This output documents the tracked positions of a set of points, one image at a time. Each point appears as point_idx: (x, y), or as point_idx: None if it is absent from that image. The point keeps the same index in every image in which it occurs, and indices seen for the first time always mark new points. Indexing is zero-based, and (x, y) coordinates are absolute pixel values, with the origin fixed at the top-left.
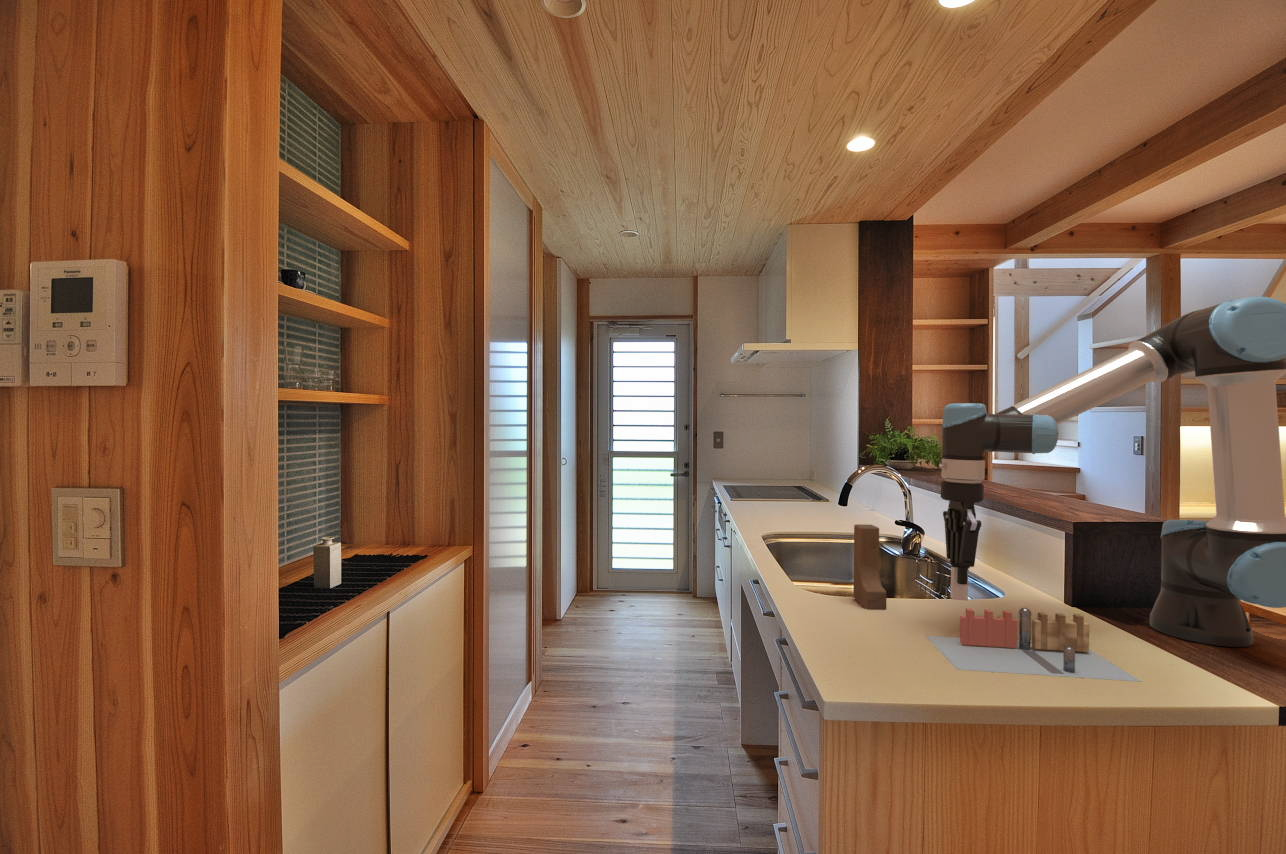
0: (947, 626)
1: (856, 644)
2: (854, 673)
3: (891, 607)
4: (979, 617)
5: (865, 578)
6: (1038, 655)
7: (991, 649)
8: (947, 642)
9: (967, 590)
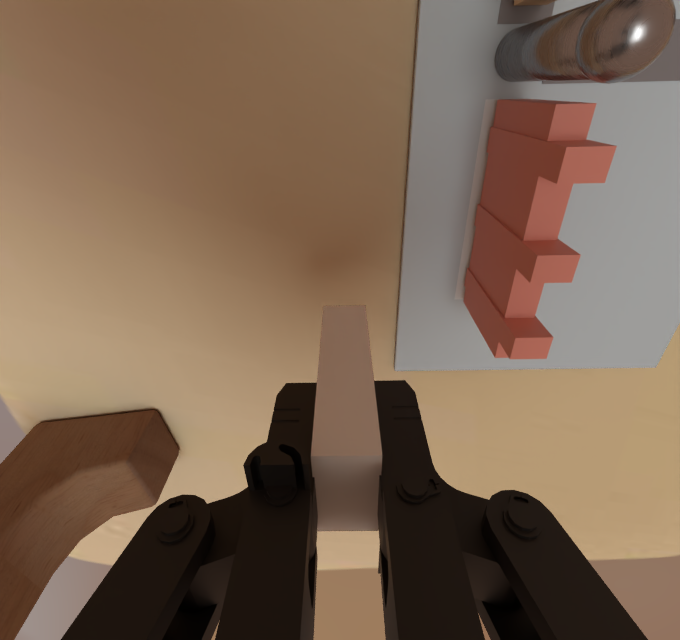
0: (255, 270)
1: None
2: (610, 522)
3: (99, 386)
4: (523, 291)
5: (73, 532)
6: None
7: None
8: (452, 331)
9: (367, 338)
